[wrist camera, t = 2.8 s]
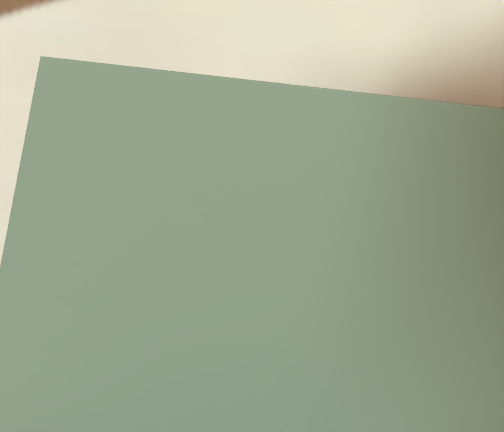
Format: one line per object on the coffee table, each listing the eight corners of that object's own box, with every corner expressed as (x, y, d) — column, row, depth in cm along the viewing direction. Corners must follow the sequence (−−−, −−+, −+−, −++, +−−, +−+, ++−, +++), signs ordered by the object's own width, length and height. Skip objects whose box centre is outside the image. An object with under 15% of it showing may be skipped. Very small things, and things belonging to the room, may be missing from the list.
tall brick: (290, 447, 14) (766, 868, 3) (135, 444, 14) (-132, 959, 2) (293, 295, 16) (621, 121, 4) (151, 286, 15) (39, 56, 3)
